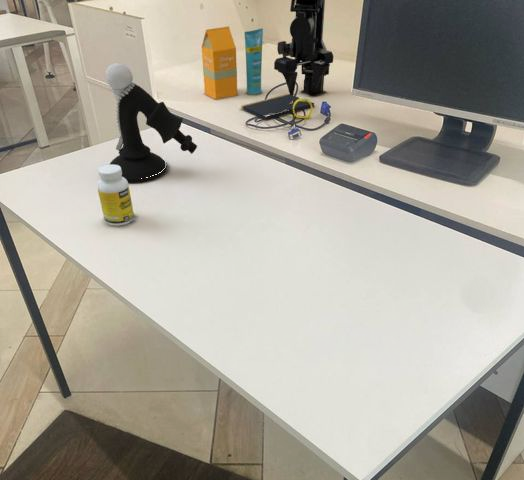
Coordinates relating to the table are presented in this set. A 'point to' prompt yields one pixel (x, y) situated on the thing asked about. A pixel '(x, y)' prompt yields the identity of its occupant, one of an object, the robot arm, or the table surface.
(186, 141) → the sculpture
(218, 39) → the orange juice
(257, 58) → the tube
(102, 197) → the pill bottle
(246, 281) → the table surface
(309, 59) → the robot arm
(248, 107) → the dark rectangular board
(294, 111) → the watch
